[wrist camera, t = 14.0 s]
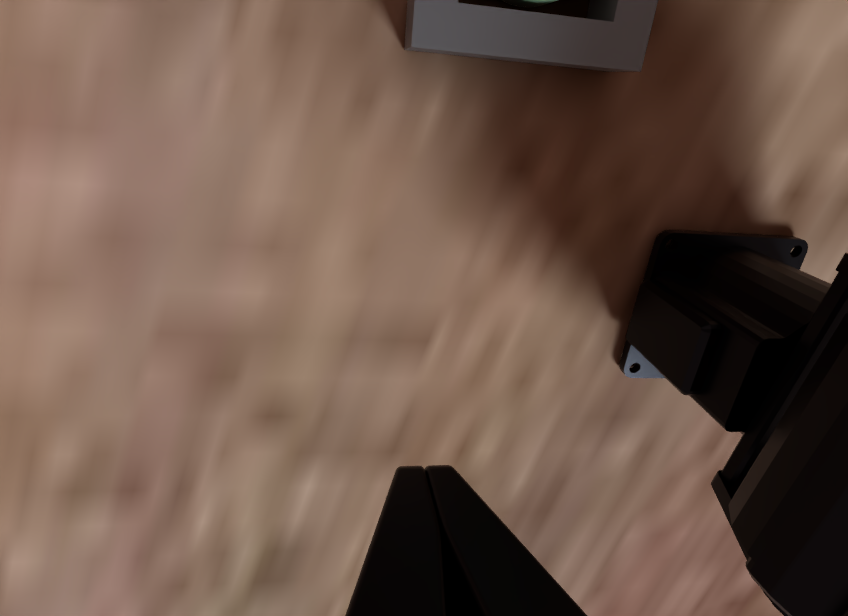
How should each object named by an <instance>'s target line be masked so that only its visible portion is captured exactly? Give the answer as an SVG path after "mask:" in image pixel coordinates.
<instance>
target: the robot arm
mask: <svg viewBox="0 0 848 616" xmlns="http://www.w3.org/2000/svg"><path fill="white" fill-rule="evenodd" d="M671 239H672V244H671V245H670V246H669V247H668V248H666V244H667V242H668V241H669V240H671ZM793 247H794V249H793V251H792V252H791V253H790V251H791V250H792V248H793ZM807 250H808V245H807V242H806V241H805V240H802V239H799V238H796V237H792V236H774V235H756V234H737V233H719V232H700V231H682V230H665V231H663V232H661V233H660V234H659V235H658V236H657V237H656V240H655V242H654V245H653V249H652V252H651V256H650V259H649V263H648V266H647V270H646V273H645V277H644V280H643V283H642V284H641V286H640V289H639V292H638V296H637V299H636V303H635V306H634V310H633V313H632V317H631V320H630V324H629V327H628V331H627V334H626V343H625V346H624V350H623V353H622V357H621V360H620V366H619V367H620V369H621V371H622V372H623V373H624V374H625V375H626V376H627V377H630V378H666V379H667V380H668V381H669V382H670V383H671V384H672V385H673V386H674V387H676V388H677V389H678V390H679V391H680V392H681V393H682V394H684V395H689V396H690V397H691V398H693V399H694V400H695V401H696V402H697V403H698V404H699V405H700V406H701V407H702V408H703V409H704V410H705V411H706V412H707V413H708V414H709V415H710V416H711V417H713V418H714V419H715V420H716V421H717V422H718V423H719V424H720V425H721V426H722V427H723V428H724V429H725V430H726V431H729V432H741V433H742V434H743V436H742V437H741V439H740V441H739V443H738V444H737V446H736V448H735V449H734V451H733V453H732V454H731V456H730V458H729V460H728V461H727V463H726V465H725V466H724V468H723V470H719V471H718V472H717V474H716V475H715V477H714V479H713V480H712V482H711V485H712V488H713V490H714V492H715V494H716V496H717V498H718V500H719V502H720V504H721V507H722V509H723V511H724V513H725V515H726V517H727V519H728V521H729V523H730V526H731V528H732V530H733V532H734V534H735V536H736V538H737V540H738V543H739V545H740V547H741V549H742V551H743V553H744V555H745V557H746V559H747V561H746V568H747V570H748V571H749V573H750V575H751V577H752V578H753V580H754V581H755V582H756V583H757V584H758V585H759V586H760V587H761V589H762V590H763V592H764V593H765V595H766V596H767V597H768V598H769V600H770V601H771V602H772V604H773V605H774V606H775V607H776V608H777V609H778V610H779V611H780V612H781V613H782V614H783V615H784V616H848V253H845V254H844V256H843V258H842V260H841V261H840V263H839V265H838V266H837V268H836V271H838V274H837V276H836V278H835V279H834V281H833V283H832V284H830V283H828V282H825V281H823V280H821V279H819V278H816V277H814V276H812V275H810V274H807V273H805V272H803V271H800V267H801V265H802V263H803V260H804V258H805V255H806V253H807ZM633 363H636V364H635V365H634V366H633V367H632V368H630V366H631V365H632V364H633ZM345 616H587V615H586V614H585V613H584V612H583V610H582V609H581V608H580V607H579V606H578V605H577V604H576V603H575V602H574V601H573V599H572V598H571V597H570V596H569V595H568V594H567V593H566V592H565V591H564V589H563V588H562V587H561V586H560V585H559V584H558V583H557V582H556V581H555V579H554V578H553V577H552V576H551V575H550V574H549V573H548V572H547V571H546V570H545V568H544V567H543V566H542V565H541V564H540V563H539V562H538V561H537V560H536V558H535V557H534V556H533V555H532V554H531V553H530V552H529V551H528V550H527V548H526V547H525V546H524V545H523V544H522V543H521V542H520V541H519V540H518V539H517V537H516V536H515V535H514V534H513V533H512V532H511V531H510V530H509V529H508V527H507V526H506V525H505V524H504V523H503V522H502V521H501V520H500V519H499V517H498V516H497V515H496V514H495V513H494V512H493V511H492V510H491V509H490V508H489V506H488V505H487V504H486V503H485V502H484V501H483V500H482V499H481V498H480V496H479V495H478V494H477V493H476V492H475V491H474V490H473V489H472V488H471V486H470V485H469V484H468V483H467V482H466V481H465V480H464V479H463V478H462V477H461V475H460V474H459V473H458V472H457V471H456V470H455V469H454V468H453V467H452V466H449V465H432V466H427V467H426V468H425V469H424V468H423V467H422V466H400V467H398V468H397V469H396V472H395V475H394V478H393V480H392V483H391V486H390V489H389V492H388V495H387V498H386V501H385V503H384V506H383V509H382V512H381V515H380V518H379V521H378V523H377V526H376V529H375V532H374V535H373V538H372V541H371V544H370V546H369V549H368V552H367V555H366V558H365V561H364V564H363V567H362V569H361V572H360V575H359V578H358V581H357V584H356V587H355V589H354V592H353V595H352V598H351V601H350V604H349V607H348V610H347V612H346V615H345Z"/></svg>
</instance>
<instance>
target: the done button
mask: <svg viewBox="0 0 848 616" xmlns="http://www.w3.org/2000/svg"><path fill="white" fill-rule="evenodd" d="M502 1H504V2H506V3H508V4H511V5H514V6H519V7H538V6H542V5H545V4H548V3H551V2H554V1H557V0H502Z"/></svg>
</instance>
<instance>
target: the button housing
mask: <svg viewBox="0 0 848 616" xmlns="http://www.w3.org/2000/svg"><path fill="white" fill-rule="evenodd" d="M657 3H658V0H590V2H589V7H588V13H587V18H578V17H570V16H562V15H554V14H546V13H538V12H530V11H521V10H513V9H505V8H497V7H489V6H481V5H473V4H465V3H458V0H407V15H406V31H405V46H404V50H411V51H420V52H430V53H439V54H449V55H458V56H467V57H477V58H486V59H495V60H505V61H514V62H524V63H533V64H542V65H552V66H561V67H570V68H580V69H589V70H599V71H608V72H641V69H642V65H643V61H644V57H645V53H646V48H647V44H648V40H649V36H650V32H651V28H652V23H653V19H654V15H655V11H656V7H657Z"/></svg>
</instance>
